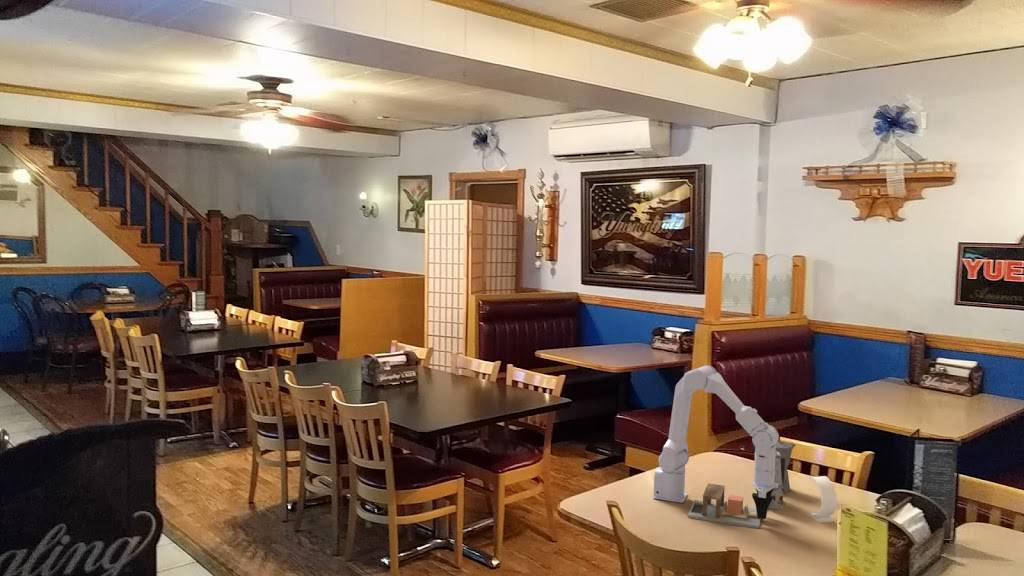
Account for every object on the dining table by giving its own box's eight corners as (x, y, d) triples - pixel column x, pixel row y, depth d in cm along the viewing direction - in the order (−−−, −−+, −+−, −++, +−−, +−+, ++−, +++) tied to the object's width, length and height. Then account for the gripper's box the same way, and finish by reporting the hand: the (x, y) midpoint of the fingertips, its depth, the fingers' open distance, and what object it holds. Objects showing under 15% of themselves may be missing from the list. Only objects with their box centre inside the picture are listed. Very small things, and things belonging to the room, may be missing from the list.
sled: (721, 514, 221) (722, 500, 221) (723, 507, 227) (724, 493, 226) (765, 521, 217) (766, 506, 216) (766, 514, 222) (767, 499, 222)
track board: (687, 517, 221) (688, 514, 221) (694, 502, 234) (694, 499, 233) (758, 528, 214) (759, 525, 214) (761, 512, 226) (761, 509, 226)
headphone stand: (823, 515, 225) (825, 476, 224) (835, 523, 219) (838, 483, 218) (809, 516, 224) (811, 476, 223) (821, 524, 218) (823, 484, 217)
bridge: (702, 515, 221) (703, 495, 220) (707, 502, 231) (707, 483, 230) (719, 518, 219) (720, 497, 218) (723, 505, 229) (724, 485, 229)
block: (727, 512, 222) (728, 499, 221) (728, 507, 225) (729, 494, 225) (741, 514, 220) (742, 501, 220) (742, 509, 224) (743, 496, 223)
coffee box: (783, 510, 228) (785, 458, 227) (761, 508, 229) (763, 456, 228) (778, 499, 237) (781, 449, 236) (757, 497, 238) (759, 448, 237)
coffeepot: (785, 482, 252) (787, 430, 251) (801, 492, 243) (804, 438, 242) (743, 485, 249) (745, 432, 247) (758, 495, 240) (761, 440, 238)
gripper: (777, 478, 210) (775, 524, 212) (780, 462, 224) (778, 506, 225) (751, 474, 213) (749, 520, 214) (755, 459, 226) (753, 503, 228)
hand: (762, 513), depth 220 cm, fingers open, 7 cm apart
